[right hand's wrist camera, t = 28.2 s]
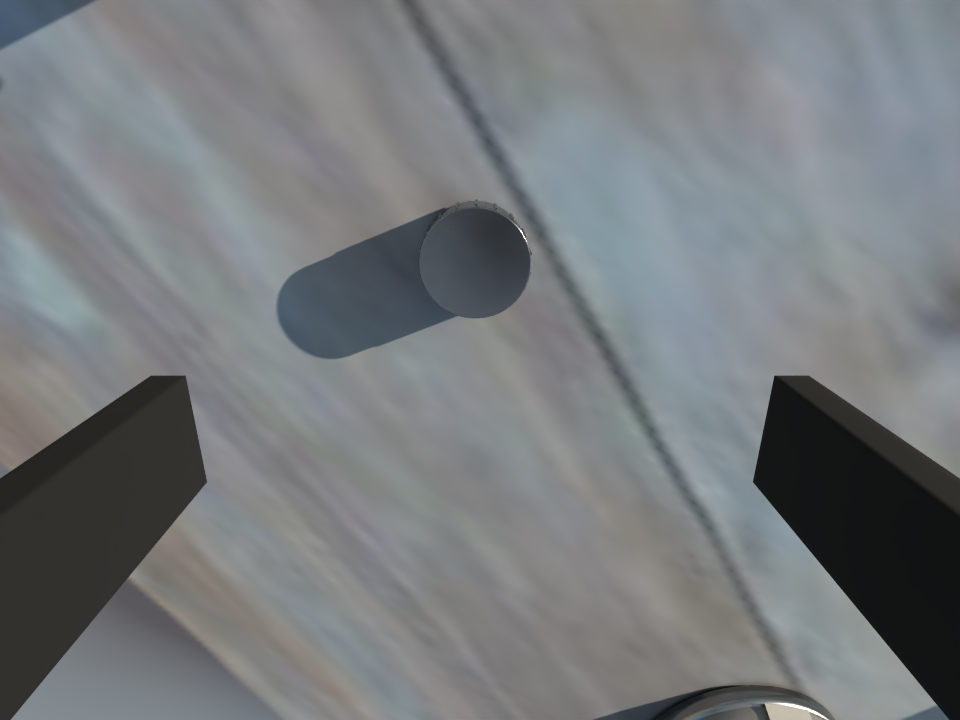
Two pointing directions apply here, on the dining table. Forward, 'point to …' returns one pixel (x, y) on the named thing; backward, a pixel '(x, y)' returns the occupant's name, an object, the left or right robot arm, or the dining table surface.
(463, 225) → the lid
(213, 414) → the dining table surface
